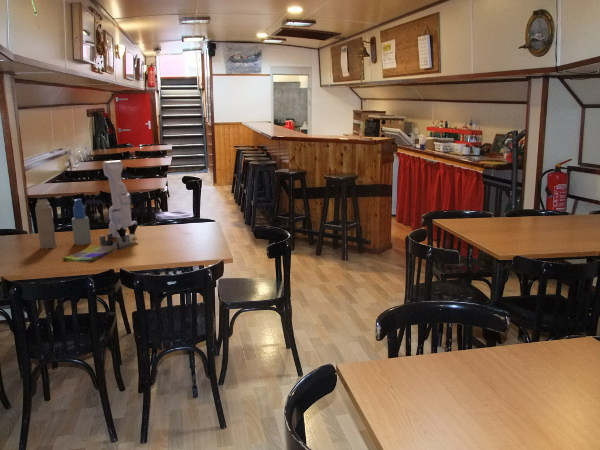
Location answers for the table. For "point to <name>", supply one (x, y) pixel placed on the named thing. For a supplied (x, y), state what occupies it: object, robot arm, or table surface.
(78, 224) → the spray bottle
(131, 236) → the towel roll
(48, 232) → the thermos bottle
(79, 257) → the dish towel
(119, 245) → the roll holder
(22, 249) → the table surface
